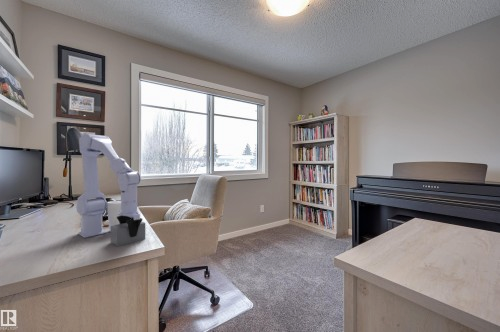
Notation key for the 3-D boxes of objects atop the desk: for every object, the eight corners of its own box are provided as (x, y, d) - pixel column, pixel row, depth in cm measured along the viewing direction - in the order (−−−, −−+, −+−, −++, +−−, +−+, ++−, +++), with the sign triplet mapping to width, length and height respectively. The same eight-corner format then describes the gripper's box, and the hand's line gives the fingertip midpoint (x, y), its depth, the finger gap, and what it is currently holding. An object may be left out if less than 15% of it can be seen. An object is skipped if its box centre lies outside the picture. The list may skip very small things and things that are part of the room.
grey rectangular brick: (110, 242, 84) (110, 225, 83) (138, 235, 92) (138, 220, 92) (117, 246, 80) (116, 229, 79) (145, 238, 88) (145, 222, 88)
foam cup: (117, 233, 93) (119, 203, 94) (100, 231, 95) (102, 202, 96) (133, 228, 102) (135, 201, 103) (117, 226, 104) (119, 200, 105)
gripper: (111, 200, 87) (111, 233, 87) (125, 204, 78) (126, 241, 78) (129, 198, 93) (129, 229, 93) (145, 202, 84) (145, 236, 84)
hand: (129, 234), depth 86 cm, fingers open, 7 cm apart
